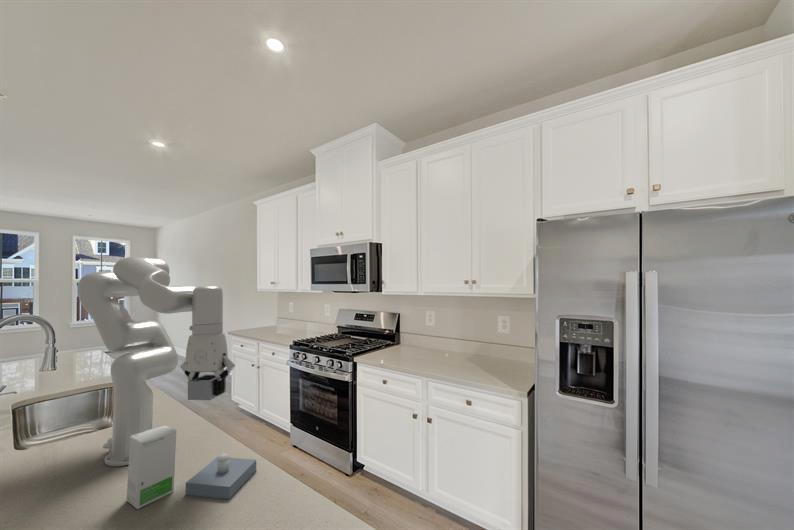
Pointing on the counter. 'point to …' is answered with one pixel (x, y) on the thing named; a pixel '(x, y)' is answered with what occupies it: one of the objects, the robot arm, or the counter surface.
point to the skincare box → (151, 465)
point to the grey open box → (203, 387)
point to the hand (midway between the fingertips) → (207, 393)
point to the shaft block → (221, 477)
